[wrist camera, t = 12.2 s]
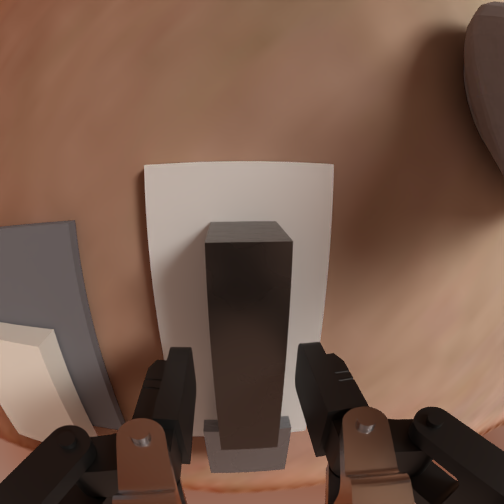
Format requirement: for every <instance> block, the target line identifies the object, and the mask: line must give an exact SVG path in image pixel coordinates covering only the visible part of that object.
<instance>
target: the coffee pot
mask: <svg viewBox="0 0 504 504" xmlns="http://www.w3.org/2000/svg"><path fill="white" fill-rule="evenodd" d="M464 84H465V90H466V95H467V101H468V104H469V107H470V111H471V114H472V117H473V120H474V123H475V125H476V127H477V129H478V132H479V134H480V137H481V138H482V140H483V141H484V143H485V145H486V146H487V148H488V150H489V151H490V153H491V155H492V157H493V158H494V160H495V162H496V164H497V166H498V167H499V169H500V171H501V173H502V174H503V175H504V3H502V2H490V3H487V4H483V5H481V6H480V7H479V8H478V10H477V11H476V13H475V14H474V16H473V18H472V19H471V21H470V23H469V25H468V27H467V31H466V37H465V43H464Z"/></svg>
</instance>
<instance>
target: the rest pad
mask: <svg viewBox="0 0 504 504" xmlns="http://www.w3.org/2000/svg"><path fill="white" fill-rule="evenodd" d="M144 177H145V202H146V219H147V233H148V245H149V256H150V266H151V275H152V283H153V292H154V299H155V307H156V314H157V320H158V327H159V333H160V339H161V345H162V350H163V356H164V360H167V358H168V354H169V350H170V347H191V348H192V354H193V362H194V369H195V377H196V403H195V413H194V424H193V436H204V433H203V428H204V420H218V419H217V410H216V400H215V390H214V379H213V368H212V357H211V344H210V331H209V317H208V301H207V283H206V263H205V240H206V236H207V233H208V229H209V226H210V223H211V222H238V221H276V222H277V223H278V224H279V225H280V226H281V228H282V229H283V230H284V231H285V232H286V233H287V235H288V236H289V237H290V238H291V239H292V241H293V258H292V278H291V296H290V312H289V327H288V341H287V354H286V366H285V377H284V389H283V399H282V409H281V416H289V420H290V424H291V432H297V431H305V429H306V422H305V419H304V415H303V412H302V409H301V405H300V402H299V399H298V395H297V392H296V388H295V370H296V361H297V351H298V345H299V343H310V342H320V338H321V331H322V323H323V315H324V306H325V297H326V287H327V277H328V266H329V253H330V240H331V224H332V206H333V180H334V164H323V163H302V162H267V161H225V162H190V163H170V164H154V165H144Z"/></svg>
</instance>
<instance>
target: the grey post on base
mask: <svg viewBox="0 0 504 504" xmlns="http://www.w3.org/2000/svg"><path fill="white" fill-rule="evenodd" d="M292 258H293V241H292V239H291V238H290V237H289V236H288V235H287V233H286V232H285V231H284V230H283V229H282V228H281V226H280V225H279V224H278V223H277V222H276V221H238V222H211V223H210V226H209V229H208V233H207V236H206V240H205V263H206V283H207V301H208V317H209V331H210V344H211V357H212V368H213V379H214V390H215V400H216V410H217V419H218V420H204V428H203V433H204V438H205V444H206V449H207V455H208V460H209V465H210V470H211V473H235V472H256V471H269V470H280V469H285V464H286V458H287V452H288V446H289V439H290V433H291V424H290V420H289V416H281V409H282V399H283V389H284V377H285V366H286V354H287V341H288V327H289V312H290V296H291V278H292Z"/></svg>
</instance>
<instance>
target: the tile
mask: <svg viewBox="0 0 504 504" xmlns="http://www.w3.org/2000/svg"><path fill="white" fill-rule="evenodd" d="M0 405H1V406H2V408H3V410H4V411H5V413H6V415H7V416H8V418H9V419H10V421H11V423H12V424H13V426H14V427H15V429H16V430H17V432H18V433H19V434H21V435H24V436H26V437H29V438H32V439H35V440H38V441H41V442H43V441H44V440H45V439H46V438H47V437H48V436H49V435H50V434H51V433H52V432H53V431H54V430H56V429H57V428H59V427H62V426H65V425H75V426H79V427H81V428H83V429H84V430H85V431H86V432H87V433H88V435H89V436H90V437H95V436H98V435H97V434H96V432H95V430H94V428H93V426H92V424H91V422H90V420H89V418H88V416H87V414H86V411H85V409H84V407H83V405H82V403H81V401H80V398H79V396H78V394H77V392H76V389H75V387H74V384H73V382H72V380H71V377H70V375H69V372H68V369H67V367H66V364H65V361H64V359H63V356H62V353H61V350H60V347H59V344H58V341H57V338H56V335H55V332H54V329H46V328H38V327H30V326H22V325H16V324H9V323H3V322H0Z"/></svg>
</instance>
